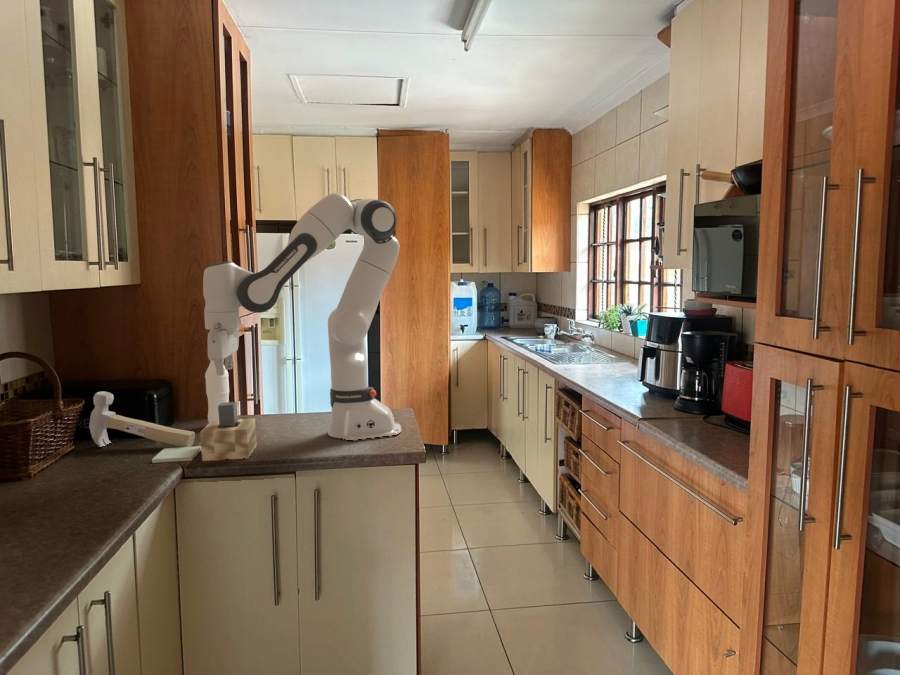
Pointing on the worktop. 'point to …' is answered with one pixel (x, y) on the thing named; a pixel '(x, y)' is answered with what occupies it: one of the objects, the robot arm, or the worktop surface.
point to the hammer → (131, 425)
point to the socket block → (228, 440)
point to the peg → (228, 414)
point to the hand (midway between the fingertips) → (224, 372)
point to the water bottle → (216, 390)
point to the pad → (177, 454)
